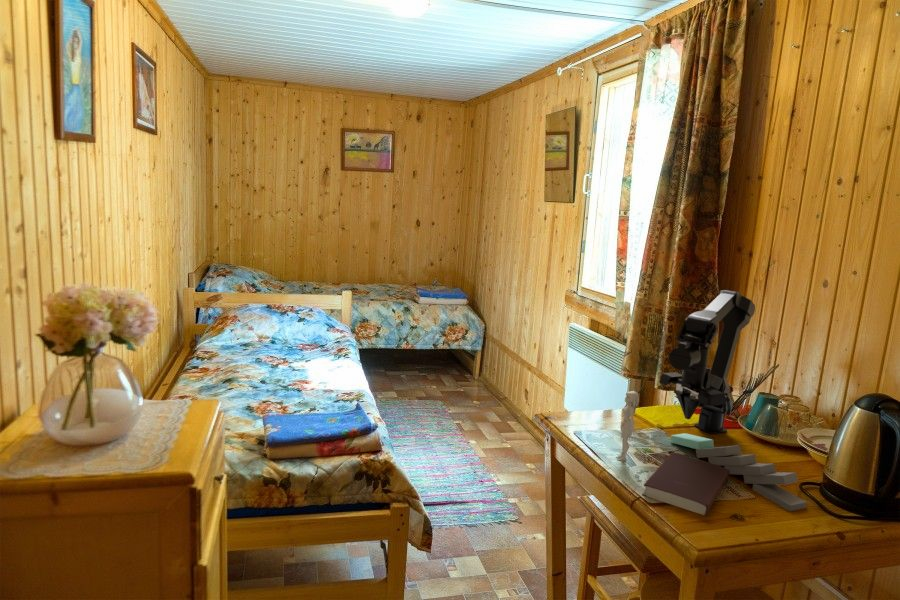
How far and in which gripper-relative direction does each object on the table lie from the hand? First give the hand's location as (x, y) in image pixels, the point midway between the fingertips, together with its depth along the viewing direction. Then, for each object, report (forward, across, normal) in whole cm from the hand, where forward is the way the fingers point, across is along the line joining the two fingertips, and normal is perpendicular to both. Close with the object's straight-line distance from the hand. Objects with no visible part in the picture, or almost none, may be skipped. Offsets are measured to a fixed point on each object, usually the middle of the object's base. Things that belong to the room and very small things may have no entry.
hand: (687, 418), depth 167 cm
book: (+8, -19, +17) cm, 27 cm away
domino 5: (+7, -25, 0) cm, 26 cm away
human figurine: (+8, -3, +22) cm, 24 cm away
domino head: (+6, +2, 0) cm, 7 cm away
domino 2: (+7, -11, 0) cm, 13 cm away
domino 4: (+6, -22, 0) cm, 22 cm away
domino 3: (+6, -16, 0) cm, 18 cm away
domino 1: (+7, -7, 0) cm, 10 cm away
